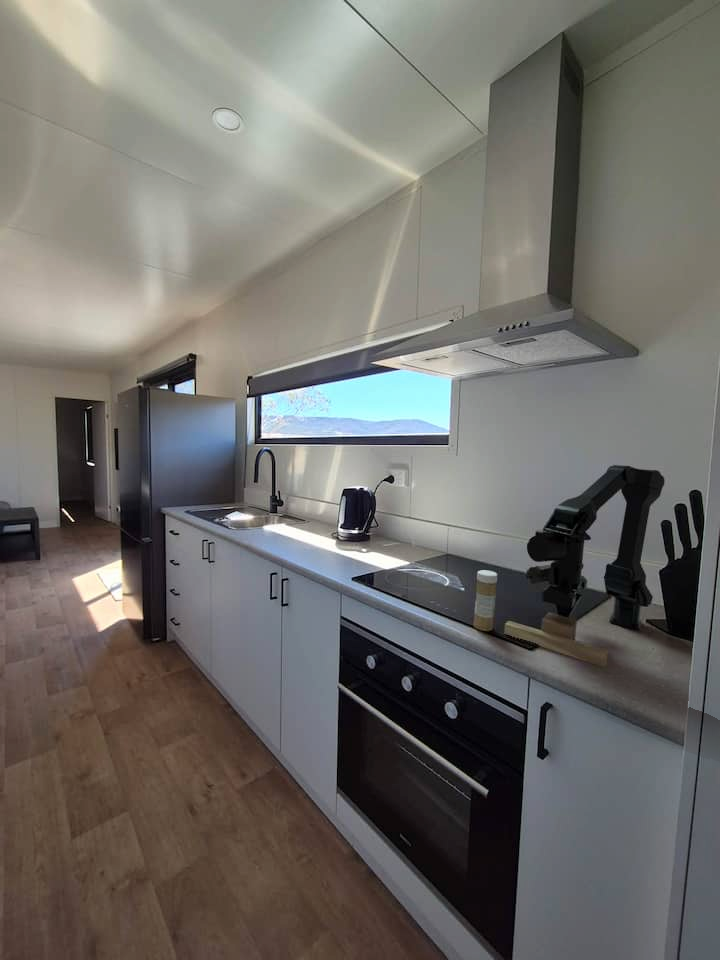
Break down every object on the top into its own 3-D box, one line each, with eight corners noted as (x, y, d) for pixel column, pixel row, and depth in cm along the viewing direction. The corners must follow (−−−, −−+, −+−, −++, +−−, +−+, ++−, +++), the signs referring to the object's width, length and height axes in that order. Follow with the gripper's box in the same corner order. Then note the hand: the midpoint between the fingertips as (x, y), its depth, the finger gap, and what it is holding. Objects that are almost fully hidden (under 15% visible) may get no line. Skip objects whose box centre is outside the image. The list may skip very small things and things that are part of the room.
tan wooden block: (546, 632, 95) (548, 612, 94) (574, 641, 91) (577, 619, 91) (539, 641, 90) (541, 619, 90) (569, 650, 86) (571, 628, 86)
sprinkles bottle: (478, 621, 99) (482, 568, 98) (496, 628, 96) (501, 573, 95) (469, 627, 95) (474, 571, 94) (487, 633, 92) (492, 576, 91)
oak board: (507, 630, 94) (508, 620, 94) (606, 662, 82) (607, 650, 82) (504, 634, 92) (505, 623, 92) (604, 667, 80) (605, 655, 80)
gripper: (542, 545, 105) (536, 603, 106) (520, 558, 90) (514, 625, 92) (590, 554, 98) (584, 616, 99) (575, 570, 83) (568, 642, 85)
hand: (562, 623), depth 94 cm, fingers closed
